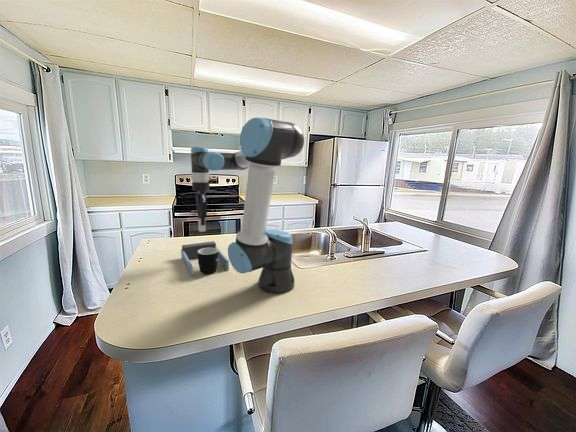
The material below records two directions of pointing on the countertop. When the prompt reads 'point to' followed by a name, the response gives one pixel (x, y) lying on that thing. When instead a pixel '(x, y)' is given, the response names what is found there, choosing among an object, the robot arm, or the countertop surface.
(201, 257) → the mug
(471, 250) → the countertop surface
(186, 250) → the trap block
